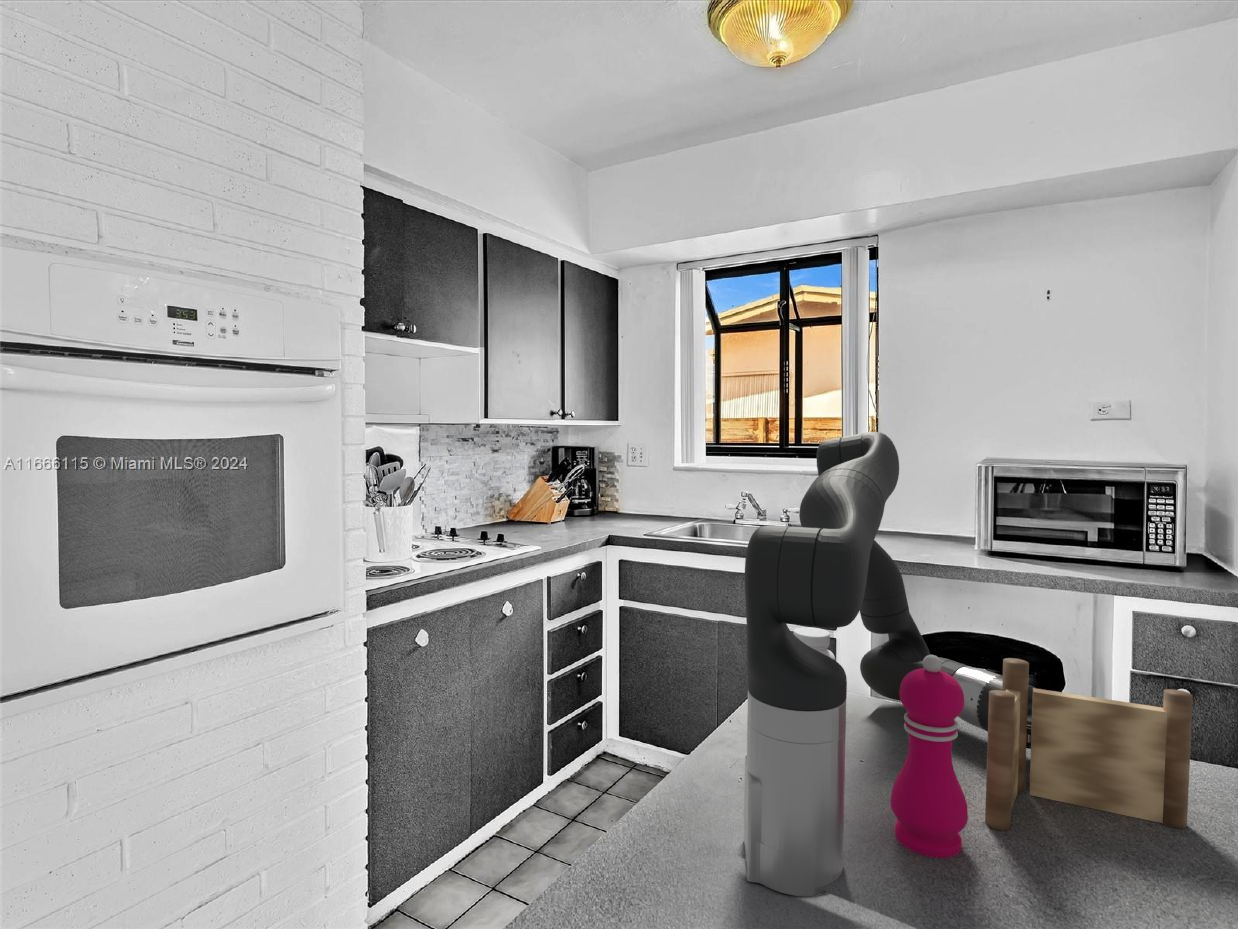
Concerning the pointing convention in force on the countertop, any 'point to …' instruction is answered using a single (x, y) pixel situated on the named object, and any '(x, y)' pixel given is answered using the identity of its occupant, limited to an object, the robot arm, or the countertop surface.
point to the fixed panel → (1006, 743)
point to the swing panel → (1113, 754)
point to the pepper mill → (930, 764)
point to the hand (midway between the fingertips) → (1137, 758)
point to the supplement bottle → (815, 639)
